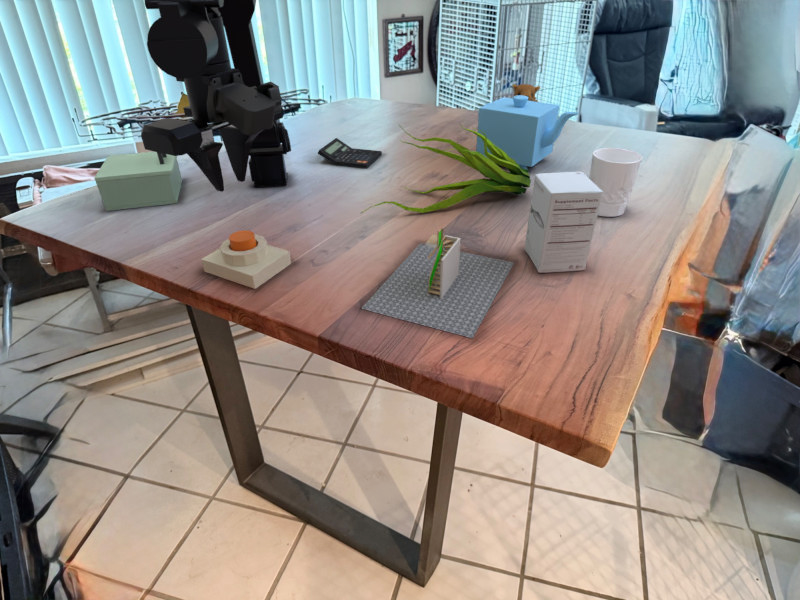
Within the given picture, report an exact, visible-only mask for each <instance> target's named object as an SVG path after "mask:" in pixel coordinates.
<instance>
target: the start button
mask: <svg viewBox="0 0 800 600" xmlns="http://www.w3.org/2000/svg"><path fill="white" fill-rule="evenodd" d="M254 234H255V232H254V231H252V230H238V231H235V232H233V233H231V234H230V235H229V236H228V239H229V241H230V245H231V249H232V250H233V251H247V250H251V249H253V248H255V247H256V240H255V235H256V234H255V235H254Z"/></svg>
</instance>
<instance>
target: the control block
mask: <svg viewBox="0 0 800 600" xmlns="http://www.w3.org/2000/svg"><path fill="white" fill-rule="evenodd" d="M254 235H255V240H256V247H255V248H253V249H251V250H247V251H233V250H232V249H231V245H230V241H229V238H227V239H226V240H224V241H223V242H222V243H221V245H219V248H217V249H216V250H215V251H213V252H211V253H209V254H208V255H206V256H204V257H202V258H201V264H202V268H203V272H205V273H207V274H210V275H213V276H216V277H218V278H221V279H224V280H228V281H231V282H234V283H236V284H240V285H242V286H245V287H248V288H251V289H254V290H256V289H258V288H259V287H260V286H262V285H263V284H264V283H266V282H268V281H269V280H271V279H272V278H273V277H274V276H276V275H278V274H279V273H280V272H282V271H283V270H285V269H286V268H288V267H289V266H290V265H292V260H291V253H290V250H287V249H283V248H281V247H280V248H279V247H276V246H272V245H269V244H268V241H267V240H266V238H265V237H264V236H262V235H258V234H255V233H254Z"/></svg>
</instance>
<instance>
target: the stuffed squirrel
mask: <svg viewBox="0 0 800 600" xmlns="http://www.w3.org/2000/svg"><path fill="white" fill-rule="evenodd" d="M511 89H512V92H513V97H514V96H517V95H523V96H527V97H528V101H535V102H539V100H538V99H537V97H536V94H537V93H538V91H539V90H541V86H540V85H537V86H534V85H532V84H527V83H521V84H519V85H517V84H516V83H513V84H511Z"/></svg>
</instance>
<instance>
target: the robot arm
mask: <svg viewBox="0 0 800 600" xmlns="http://www.w3.org/2000/svg"><path fill="white" fill-rule="evenodd" d="M256 3H257V0H144V7H145V9H146V10H158V11H159V16H160V17H159V18H157V19H156V20H155V21H153V22H152V24H151V26H150V27H149V29H148V32H147V39H146V41H147V42H146V47H147V51H148V53H149V56H150V58H151V60H152V61H153V62H154V64H155V66H157V67H158V68H159V69H160V70H161V71H162V72H163V73H165V74H166V75H168V76H170V77H173V78H175V81H176V82H179V83H184V88H185V91H186V96H187V100H188V106H185V107H182V109H183V113H184V116H185V117H188V118H192V120H189V121H188V120H182V119H177V118H171V117H166V118H163V119H159V120H156V121H153V122H149V123H146V124H144V125H143V126H142V129H141V132H140V137H141V140H142V144H143V148H144V150H146V151H149V152H159V153H163V154H168V155H173V156H177V157H179V156H184V155H187V156H188V157H189V159H191V160H192V161H193V162H194V163H195V164H196V166H197V167H198V168H199V169H200V171H201V172H202V173H203V175H204V176H205V178H207V180H208V181H209V182H210V184H211V185H212V186H213V188H214V189H215V190H216V191H217V192H221V193H222V192H224V191H225V184H224V177H223V171H222V167H221V162H220V157H219V153H220V151H221V149H222V147H223V145H224V149H225V152H226V154H227V157H228V160H229V164H230V166H231V170H232V172H233V174H234V176H235V178H236V180H237V181H238V182H241V183H243V182H245V181H246V177H247V171H248V170H247V169H248V168H249V173H250V178H251V182H252V183H253V188H267V187H268V188H270V187H286V186H287V185H288V177H289V173H288V172H287V168H286V161H285V155H288V153H290V152H292V146H291V145H292V144H291V139H290V134H289V132H288V129H287V128H286V127H285V124H284V122H283V121H281V119H283V118H284V115H283V107H282V102H283V101H282V100H283V99H282V95H281V91H280V86H279V85H277V84H276V83H274V82H272V81H267V82H264V78H263V74H262V68H261V64H260V58H259V53H258V47H257V43H256V38H255V34H254V28H253V23H252V19H253V16H254V13H255V10H256V6H257V5H256ZM229 52H230V54H229ZM230 56H231V60H232V65H233V67H232V65H231V60H230ZM217 130H218V131H219V134H220V138H221V140H222V142H218V141H215V138H214V132H215V131H217Z"/></svg>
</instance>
